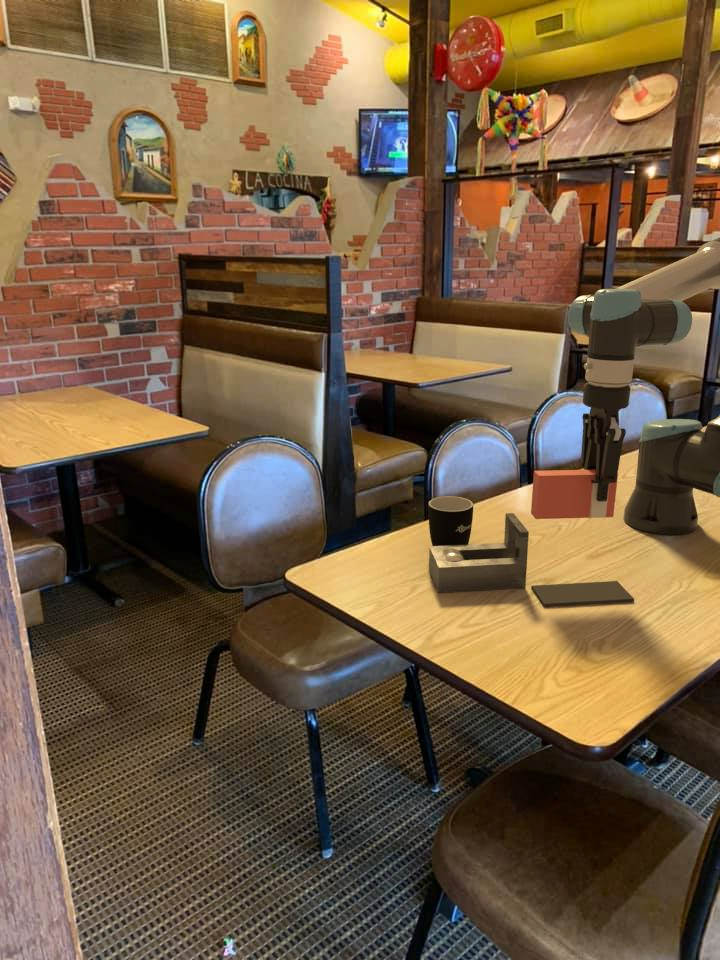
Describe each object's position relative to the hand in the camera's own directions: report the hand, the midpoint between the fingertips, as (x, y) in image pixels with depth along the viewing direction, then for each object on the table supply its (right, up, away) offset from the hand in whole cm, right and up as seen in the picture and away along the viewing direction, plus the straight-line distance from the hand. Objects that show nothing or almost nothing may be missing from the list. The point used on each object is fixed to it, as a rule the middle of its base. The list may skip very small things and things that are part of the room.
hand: (593, 513), depth 129 cm
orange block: (-4, 0, 0) cm, 4 cm away
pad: (-3, -14, -1) cm, 15 cm away
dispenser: (-19, -12, +5) cm, 24 cm away
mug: (-22, -8, +20) cm, 31 cm away
